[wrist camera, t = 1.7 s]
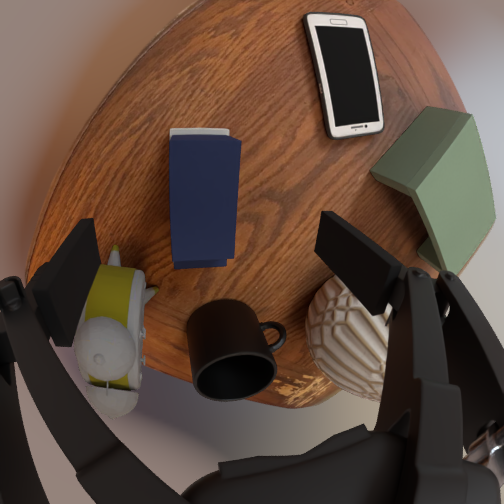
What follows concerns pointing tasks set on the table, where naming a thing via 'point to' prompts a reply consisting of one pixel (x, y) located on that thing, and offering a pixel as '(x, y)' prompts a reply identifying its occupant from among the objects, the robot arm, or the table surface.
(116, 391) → the alarm clock
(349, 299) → the vase
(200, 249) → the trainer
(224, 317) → the mug
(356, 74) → the cell phone
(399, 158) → the sage green footstool
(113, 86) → the table surface
